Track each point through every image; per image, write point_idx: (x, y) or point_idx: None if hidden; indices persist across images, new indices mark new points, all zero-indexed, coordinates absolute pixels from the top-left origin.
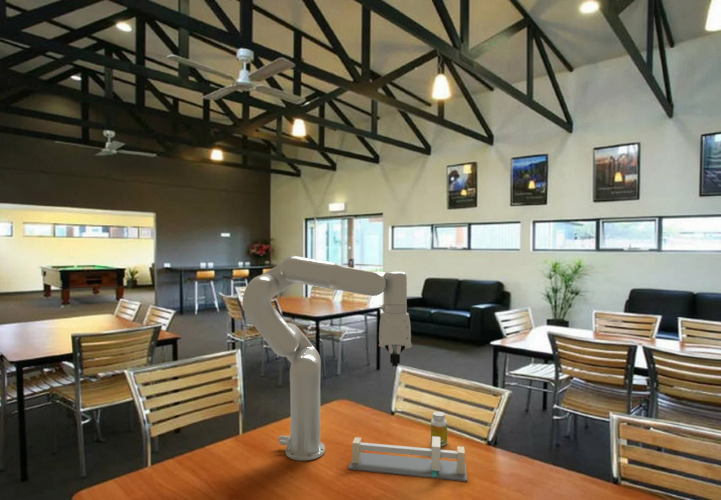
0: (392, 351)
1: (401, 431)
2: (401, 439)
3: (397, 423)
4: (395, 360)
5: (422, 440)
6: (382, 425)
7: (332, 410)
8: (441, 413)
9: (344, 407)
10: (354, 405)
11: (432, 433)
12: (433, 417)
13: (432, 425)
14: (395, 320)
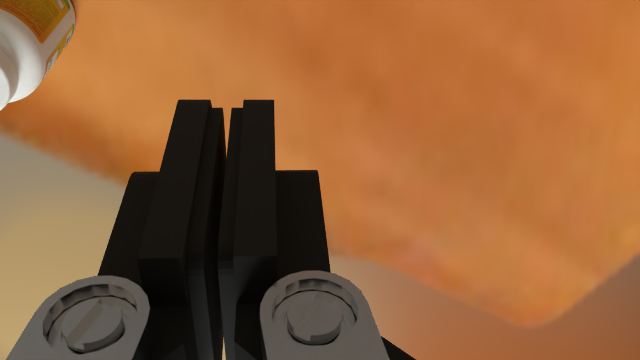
0: (273, 325)
1: None
2: (237, 12)
3: None
4: (201, 163)
5: (125, 21)
6: (350, 146)
7: (583, 244)
8: None
9: (528, 278)
10: (484, 300)
11: (42, 5)
12: (6, 55)
13: (26, 22)
14: None
